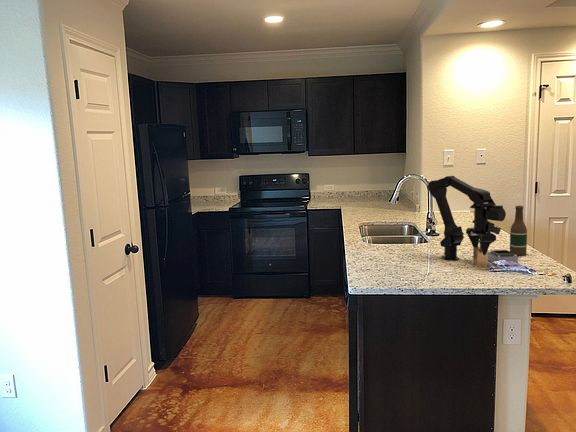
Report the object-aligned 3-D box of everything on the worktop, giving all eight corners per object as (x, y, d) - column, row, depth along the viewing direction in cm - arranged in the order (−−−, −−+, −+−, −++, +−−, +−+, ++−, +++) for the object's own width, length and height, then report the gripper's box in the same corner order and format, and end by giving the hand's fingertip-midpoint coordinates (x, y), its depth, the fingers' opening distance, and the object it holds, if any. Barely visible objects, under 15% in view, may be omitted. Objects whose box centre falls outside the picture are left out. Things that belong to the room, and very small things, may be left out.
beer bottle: (512, 251, 236) (514, 204, 233) (529, 254, 231) (530, 205, 227) (506, 254, 231) (507, 206, 227) (523, 257, 225) (525, 207, 222)
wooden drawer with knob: (473, 263, 217) (473, 244, 215) (482, 263, 217) (483, 243, 216) (477, 266, 212) (477, 246, 211) (487, 265, 212) (487, 245, 211)
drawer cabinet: (487, 260, 222) (487, 249, 221) (505, 259, 222) (506, 249, 221) (497, 266, 211) (498, 255, 210) (517, 265, 211) (518, 254, 211)
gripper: (508, 221, 202) (507, 256, 205) (489, 215, 221) (488, 247, 223) (483, 222, 202) (482, 257, 205) (465, 216, 221) (465, 248, 223)
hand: (480, 252), depth 214 cm, fingers open, 9 cm apart
